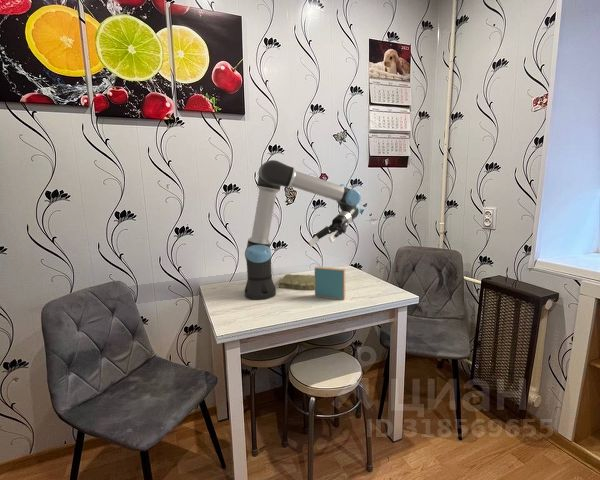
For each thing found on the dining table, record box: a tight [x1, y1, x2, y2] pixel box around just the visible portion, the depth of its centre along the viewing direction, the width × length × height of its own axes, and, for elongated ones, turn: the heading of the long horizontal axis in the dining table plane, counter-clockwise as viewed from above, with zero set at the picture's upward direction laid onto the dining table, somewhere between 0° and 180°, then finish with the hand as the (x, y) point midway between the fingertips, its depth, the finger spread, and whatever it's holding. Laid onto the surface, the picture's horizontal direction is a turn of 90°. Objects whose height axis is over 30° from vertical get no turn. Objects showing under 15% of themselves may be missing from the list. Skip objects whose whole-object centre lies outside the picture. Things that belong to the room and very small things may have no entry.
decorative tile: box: [278, 273, 315, 291], centre depth 172 cm, size 19×20×4 cm
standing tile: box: [314, 266, 346, 301], centre depth 151 cm, size 14×3×14 cm, turn 68°
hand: (319, 242), depth 154 cm, fingers open, 13 cm apart
